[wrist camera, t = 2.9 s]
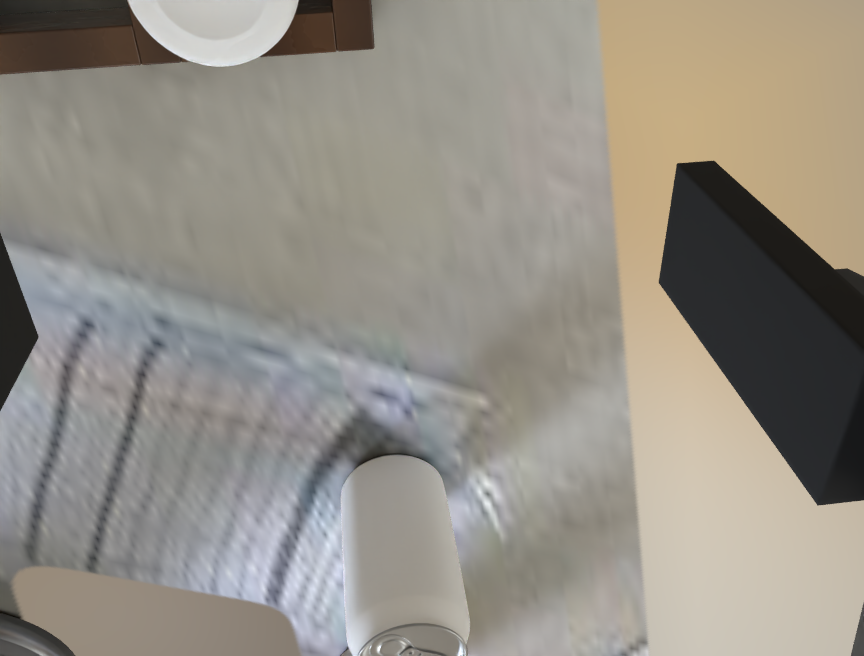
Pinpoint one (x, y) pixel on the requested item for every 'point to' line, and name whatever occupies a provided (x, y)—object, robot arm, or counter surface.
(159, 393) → the counter surface
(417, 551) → the can
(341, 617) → the counter surface
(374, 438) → the counter surface
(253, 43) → the sprinkles bottle
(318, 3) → the holder
